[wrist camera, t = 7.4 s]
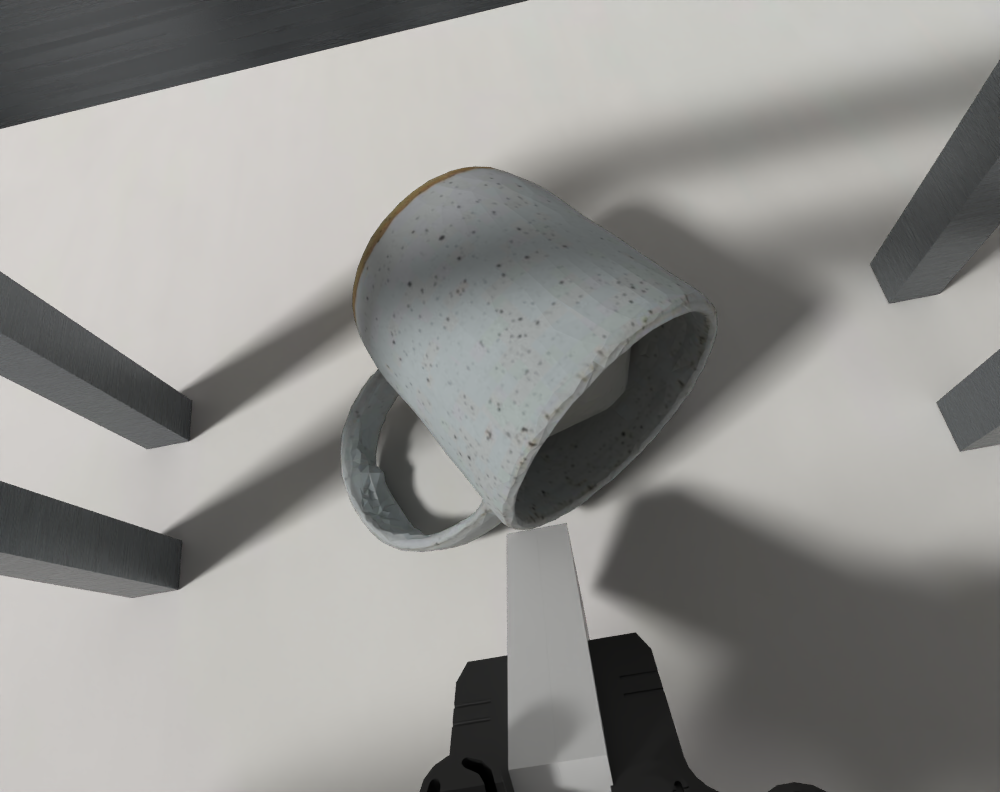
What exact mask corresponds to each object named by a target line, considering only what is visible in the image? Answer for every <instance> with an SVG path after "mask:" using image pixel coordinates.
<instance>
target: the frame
mask: <svg viewBox="0 0 1000 792" xmlns="http://www.w3.org/2000/svg"><path fill="white" fill-rule="evenodd" d="M523 1H528V0H0V129H2V128H6V127H10V126H14V125H18V124H22V123H26V122H30V121H35V120H39V119H43V118H47V117H51V116H55V115H59V114H63V113H67V112H72V111H76V110H80V109H84V108H88V107H92V106H96V105H100V104H104V103H109V102H113V101H117V100H121V99H125V98H129V97H133V96H137V95H141V94H145V93H150V92H154V91H158V90H162V89H166V88H170V87H174V86H178V85H182V84H187V83H191V82H195V81H199V80H203V79H207V78H211V77H215V76H219V75H224V74H228V73H232V72H236V71H240V70H244V69H248V68H252V67H256V66H261V65H265V64H269V63H273V62H277V61H281V60H285V59H289V58H293V57H298V56H302V55H306V54H310V53H314V52H318V51H322V50H326V49H330V48H334V47H339V46H343V45H347V44H351V43H355V42H359V41H363V40H367V39H371V38H376V37H380V36H384V35H388V34H392V33H396V32H400V31H404V30H408V29H413V28H417V27H421V26H425V25H429V24H433V23H437V22H441V21H445V20H450V19H454V18H458V17H462V16H466V15H470V14H474V13H478V12H482V11H486V10H491V9H495V8H499V7H503V6H507V5H511V4H515V3H519V2H523ZM999 224H1000V60H999V62H998V63H997V65H996V67H995V68H994V70H993V71H992V73H991V75H990V76H989V78H988V79H987V81H986V82H985V84H984V86H983V87H982V89H981V90H980V92H979V93H978V95H977V97H976V98H975V100H974V101H973V103H972V104H971V106H970V108H969V109H968V111H967V112H966V114H965V115H964V117H963V119H962V120H961V122H960V123H959V125H958V127H957V128H956V130H955V131H954V133H953V134H952V136H951V138H950V139H949V141H948V142H947V144H946V145H945V147H944V149H943V150H942V152H941V153H940V155H939V156H938V158H937V160H936V161H935V163H934V164H933V166H932V167H931V169H930V171H929V172H928V174H927V175H926V177H925V179H924V180H923V182H922V183H921V185H920V186H919V188H918V190H917V191H916V193H915V194H914V196H913V197H912V199H911V201H910V202H909V204H908V205H907V207H906V208H905V210H904V212H903V213H902V215H901V216H900V218H899V219H898V221H897V223H896V224H895V226H894V227H893V229H892V231H891V232H890V234H889V235H888V237H887V238H886V240H885V242H884V243H883V245H882V246H881V248H880V249H879V251H878V253H877V254H876V256H875V257H874V259H873V260H872V262H871V264H870V265H871V267H872V269H873V271H874V273H875V275H876V277H877V280H878V282H879V284H880V286H881V288H882V290H883V292H884V294H885V296H886V298H887V300H888V302H889V303H895V302H900V301H905V300H910V299H915V298H920V297H925V296H930V295H935V294H940V292H941V291H942V290H943V289H944V288H945V287H946V286H947V284H948V283H949V282H950V281H951V280H952V279H953V277H954V276H955V275H956V274H957V273H958V272H959V270H960V269H961V268H962V267H963V266H964V265H965V264H966V262H967V261H968V260H969V259H970V258H971V257H972V255H973V254H974V253H975V252H976V251H977V250H978V248H979V247H980V246H981V245H982V244H983V243H984V241H985V240H986V239H987V238H988V237H989V236H990V235H991V233H992V232H993V231H994V230H995V229H996V228H997V226H998V225H999ZM0 375H1V376H3V377H5V378H7V379H9V380H11V381H13V382H15V383H17V384H19V385H21V386H23V387H25V388H27V389H29V390H31V391H33V392H35V393H37V394H39V395H41V396H43V397H45V398H47V399H49V400H51V401H53V402H55V403H57V404H59V405H61V406H63V407H65V408H66V409H68V410H70V411H72V412H74V413H76V414H78V415H80V416H82V417H84V418H86V419H88V420H90V421H92V422H94V423H96V424H98V425H100V426H102V427H104V428H106V429H108V430H110V431H112V432H114V433H116V434H118V435H120V436H122V437H124V438H126V439H128V440H130V441H132V442H134V443H136V444H138V445H140V446H142V447H144V448H146V449H150V448H156V447H161V446H166V445H171V444H176V443H181V442H186V441H189V434H190V421H191V407H192V400H190V399H189V398H187V397H186V396H184V395H183V394H181V393H180V392H178V391H177V390H175V389H174V388H172V387H171V386H169V385H168V384H166V383H165V382H163V381H162V380H160V379H159V378H157V377H156V376H154V375H153V374H152V373H150V372H149V371H147V370H146V369H144V368H143V367H141V366H140V365H138V364H137V363H135V362H134V361H132V360H131V359H129V358H128V357H126V356H125V355H123V354H122V353H120V352H119V351H117V350H116V349H114V348H113V347H111V346H110V345H109V344H107V343H106V342H104V341H103V340H101V339H100V338H98V337H97V336H95V335H94V334H92V333H91V332H89V331H88V330H86V329H85V328H83V327H82V326H80V325H79V324H77V323H76V322H74V321H73V320H71V319H70V318H68V317H67V316H66V315H64V314H63V313H61V312H60V311H58V310H57V309H55V308H54V307H52V306H51V305H49V304H48V303H46V302H45V301H43V300H42V299H40V298H39V297H37V296H36V295H34V294H33V293H31V292H30V291H28V290H27V289H25V288H24V287H23V286H21V285H20V284H18V283H17V282H15V281H14V280H12V279H11V278H9V277H8V276H6V275H5V274H3V273H2V272H0ZM936 403H937V405H938V407H939V409H940V411H941V413H942V415H943V417H944V419H945V421H946V423H947V425H948V428H949V430H950V432H951V434H952V436H953V438H954V440H955V442H956V444H957V446H958V448H959V450H960V451H965V450H971V449H977V448H982V447H988V446H994V445H999V444H1000V349H999V350H998V351H997V352H996V353H994V354H993V355H992V356H991V357H990V358H989V359H987V360H986V361H985V362H984V363H983V364H981V365H980V366H979V367H978V368H977V369H975V370H974V371H973V372H972V373H971V374H970V375H968V376H967V377H966V378H965V379H964V380H962V381H961V382H960V383H959V384H958V385H956V386H955V387H954V388H953V389H952V390H951V391H949V392H948V393H947V394H946V395H945V396H943V397H942V398H941V399H940V400H939V401H937V402H936ZM181 543H182V541H181V540H178V539H175V538H172V537H169V536H166V535H163V534H160V533H157V532H154V531H151V530H148V529H145V528H142V527H139V526H136V525H132V524H129V523H126V522H123V521H120V520H117V519H114V518H111V517H108V516H105V515H102V514H99V513H96V512H93V511H90V510H87V509H84V508H81V507H78V506H75V505H72V504H69V503H66V502H62V501H59V500H56V499H53V498H50V497H47V496H44V495H41V494H38V493H35V492H32V491H29V490H26V489H23V488H20V487H17V486H14V485H11V484H8V483H5V482H2V481H0V575H3V576H8V577H14V578H20V579H26V580H31V581H37V582H43V583H49V584H54V585H60V586H66V587H72V588H78V589H83V590H89V591H95V592H101V593H106V594H112V595H118V596H124V597H129V598H134V597H140V596H145V595H151V594H157V593H162V592H168V591H174V590H178V584H179V570H180V556H181Z"/></svg>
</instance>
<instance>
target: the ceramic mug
mask: <svg viewBox="0 0 1000 792" xmlns="http://www.w3.org/2000/svg"><path fill="white" fill-rule="evenodd" d="M352 306H353V312H354V318H355V322H356V326H357V329H358V332H359V335H360V337H361V339H362V342H363V343H364V345H365V347H366V349H367V351H368V353H369V354H370V356H371V358H372V359H373V361H374V363H375V364H376V366H377V368H378V370H377V371H376V373H375V374H373V375H372V376H371V377H370V378H369V380H368V381H367V383H366V384H365V385H364V386H363V388H362V389H361V391H360V393H359V395H358V397H357V398H356V400H355V401H354V403H353V405H352V407H351V409H350V412H349V415H348V418H347V420H346V423H345V425H344V428H343V432H342V439H341V455H340V456H341V470H342V477H343V481H344V484H345V488H346V490H347V492H348V495H349V498H350V501H351V503H352V505H353V507H354V509H355V511H356V512H357V514H358V515H359V517H360V519H361V520H362V522H363V523H364V524H365V525H366V527H367V528H368V529H369V530H370V531H371V532H372V533H373V534H374V535H375V536H376V537H377V538H378V539H379V540H380V541H382V542H383V543H385V544H387V545H389V546H392V547H394V548H397V549H399V550H403V551H417V552H425V551H433V550H443V549H448V548H453V547H457V546H460V545H464V544H467V543H469V542H471V541H473V540H475V539H476V538H478V537H480V536H482V535H484V534H485V533H487V532H488V531H490V530H491V529H493V528H494V527H496V526H497V525H499V524H500V523H501V522H503V524H505V525H506V526H508V527H512V528H514V529H518V530H529V529H533V528H536V527H540V526H542V525H544V524H546V523H548V522H551V521H553V520H556V519H557V518H559V517H560V516H562V515H564V514H566V513H568V512H570V511H572V510H573V509H575V508H576V507H578V506H580V505H581V504H583V503H584V502H585V501H586V500H587V499H588V498H590V497H591V496H592V495H593V494H594V493H595V492H597V491H598V490H599V489H600V488H602V487H603V486H604V485H606V484H607V483H609V482H610V481H611V480H613V479H614V478H615V477H616V476H617V475H618V474H619V473H620V472H621V471H622V470H623V469H624V468H625V467H626V466H627V465H628V464H629V463H630V462H631V461H632V460H633V459H635V458H636V457H637V456H638V455H639V454H640V453H641V452H642V451H643V450H644V449H645V447H646V446H647V445H648V444H649V443H650V442H651V441H652V440H653V439H654V438H655V437H656V435H657V434H658V433H659V432H660V430H661V429H662V428H663V426H664V425H665V424H666V423H667V422H668V421H669V420H670V418H671V417H672V416H673V415H674V414H675V412H676V411H677V410H678V408H679V407H680V405H681V404H682V402H683V401H684V400H685V398H686V397H687V396H688V394H689V393H690V392H691V391H692V389H693V387H694V385H695V382H696V380H697V378H698V376H699V375H700V373H701V372H702V370H703V369H704V367H705V364H706V361H707V358H708V356H709V355H710V353H711V349H712V346H713V343H714V340H715V338H716V333H717V312H716V310H715V308H714V306H713V305H712V303H711V302H709V300H708V299H707V298H706V297H705V296H704V295H703V294H702V293H701V292H699V291H698V290H696V289H695V288H693V287H692V286H690V285H689V284H687V283H686V282H684V281H682V280H681V279H679V278H677V277H676V276H674V275H673V274H671V273H670V272H668V271H666V270H665V269H663V268H662V267H660V266H659V265H657V264H656V263H655V262H653V261H651V260H650V259H648V258H647V257H645V256H644V255H642V254H641V253H639V252H638V251H636V250H635V249H634V248H632V247H631V246H629V245H628V244H627V243H625V242H624V241H622V240H620V239H619V238H617V237H616V236H614V235H613V234H612V233H610V232H609V231H607V230H605V229H604V228H602V227H601V226H599V225H597V224H596V223H594V222H592V221H591V220H589V219H588V218H586V217H585V216H583V215H582V214H580V213H579V212H578V211H576V210H575V209H573V208H572V207H571V206H569V205H568V204H566V203H565V202H564V201H562V200H561V199H559V198H558V197H556V196H555V195H553V194H552V193H550V192H549V191H547V190H545V189H544V188H542V187H540V186H539V185H537V184H535V183H532V182H530V181H528V180H525V179H523V178H520V177H518V176H515V175H513V174H510V173H508V172H505V171H501V170H498V169H495V168H491V167H467V168H461V169H457V170H453V171H450V172H447V173H445V174H443V175H441V176H438V177H436V178H434V179H431V180H429V181H428V182H426V183H425V184H423V185H422V186H420V187H419V188H418V189H416V190H415V191H413V192H412V193H411V194H410V195H408V196H407V197H406V198H405V199H404V200H403V201H402V202H400V203H399V204H398V205H397V207H396V208H395V209H394V210H393V211H392V212H391V213H390V214H389V215H388V216H387V217H386V218H385V220H384V221H383V222H382V223H381V225H380V226H379V227H378V229H377V230H376V232H375V233H374V234H373V236H372V237H371V239H370V241H369V243H368V245H367V247H366V249H365V251H364V253H363V256H362V258H361V261H360V263H359V266H358V268H357V273H356V277H355V282H354V286H353V303H352ZM398 395H400V396H401V397H402V399H403V400H404V401H405V402H406V403H407V404H408V405H409V406H410V407H411V408H412V410H413V411H414V412H415V413H416V414H417V416H418V417H419V418H420V419H421V421H422V422H423V423H424V424H425V426H426V427H427V428H428V430H429V431H430V432H431V434H432V435H433V436H434V438H435V439H436V440H437V442H438V443H439V444H440V446H441V447H442V448H443V450H444V451H445V452H446V454H447V455H448V456H449V457H450V459H451V460H452V461H453V462H454V463H455V465H456V466H457V467H458V468H459V469H460V471H461V472H462V473H463V474H464V476H465V477H466V478H467V479H468V481H469V482H470V483H471V484H472V486H473V487H474V488H475V490H476V491H477V492H478V493H479V495H480V496H481V497H482V498H483V500H482V503H481V505H480V506H479V508H478V509H477V510H476V512H474V513H473V514H472V515H471V516H469V517H468V518H467V519H464V520H462V521H460V522H459V523H457V524H456V525H454V526H451V527H449V528H447V529H445V530H443V531H441V532H439V533H436V534H431V535H425V534H423V533H422V532H421V531H420V530H419V529H417V528H414V527H413V526H412V524H411V523H410V522H409V520H408V519H407V518H406V516H405V515H404V513H403V511H402V510H401V508H400V507H399V505H398V503H397V502H396V500H395V499H394V497H393V496H392V494H391V493H390V491H389V489H388V487H387V485H386V483H385V477H384V472H383V471H382V470H381V469H380V468H378V467H377V466H376V449H377V442H378V436H379V432H380V429H381V427H382V424H383V423H384V421H385V418H386V414H387V412H388V411H389V409H390V408H391V406H392V405H393V403H394V401H395V399H396V397H397V396H398Z"/></svg>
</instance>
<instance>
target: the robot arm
mask: <svg viewBox="0 0 1000 792" xmlns="http://www.w3.org/2000/svg"><path fill="white" fill-rule="evenodd" d="M454 705H455V709H454V713H453V727H452V735H451V746H450V755H449V756H447V757H446V758H444V759H443V760H442V761H440V762H439V763H437V764H436V765H435V766H434V767H433V768H432V769H431V770H430V772H429V773H428V774H427V776H426V777H425V778H424V780H423V783H422V786H421V789H420V792H718V791H716V790H714V789H712V788H710V787H708V786H707V785H705V784H704V783H703V782H702V781H701V780H699V779H698V778H697V777H696V776H695V775H694V773H693V772H692V771H691V770H690V768H689V767H688V765H687V763H686V760H685V758H684V756H683V752H682V749H681V746H680V743H679V739H678V736H677V733H676V729H675V726H674V723H673V719H672V716H671V713H670V710H669V706H668V703H667V700H666V696H665V693H664V691H663V686H662V683H661V680H660V677H659V674H658V670H657V667H656V663H655V660H654V657H653V653H652V650H651V648H650V647H649V646H648V645H647V644H646V643H645V642H644V641H643V640H642V639H641V638H640V637H639V636H638V635H637V634H636V633H630V634H624V635H618V636H612V637H606V638H600V639H594V640H590V639H589V634H588V628H587V623H586V617H585V611H584V607H583V602H582V597H581V592H580V587H579V582H578V577H577V572H576V567H575V562H574V557H573V553H572V548H571V543H570V538H569V533H568V528H567V523H565V524H559V525H554V526H548V527H543V528H537V529H532V530H526V531H521V532H515V533H510V534H507V656H501V657H495V658H489V659H483V660H477V661H471V662H467V664H466V666H465V668H464V670H463V671H462V673H461V675H460V677H459V679H458V681H457V682H456V692H455V702H454ZM768 792H826V791H824V790H822V789H820V788H818V787H816V786H814V785H808V784H802V783H796V782H793V783H788V784H782V785H777V786H776V787H774V788H773V789H771V790H770V791H768Z"/></svg>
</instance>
